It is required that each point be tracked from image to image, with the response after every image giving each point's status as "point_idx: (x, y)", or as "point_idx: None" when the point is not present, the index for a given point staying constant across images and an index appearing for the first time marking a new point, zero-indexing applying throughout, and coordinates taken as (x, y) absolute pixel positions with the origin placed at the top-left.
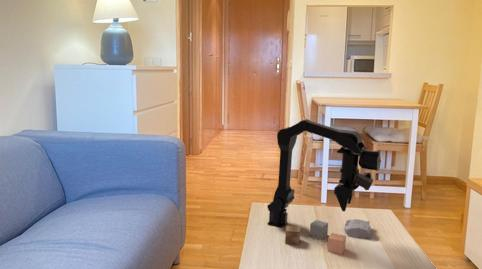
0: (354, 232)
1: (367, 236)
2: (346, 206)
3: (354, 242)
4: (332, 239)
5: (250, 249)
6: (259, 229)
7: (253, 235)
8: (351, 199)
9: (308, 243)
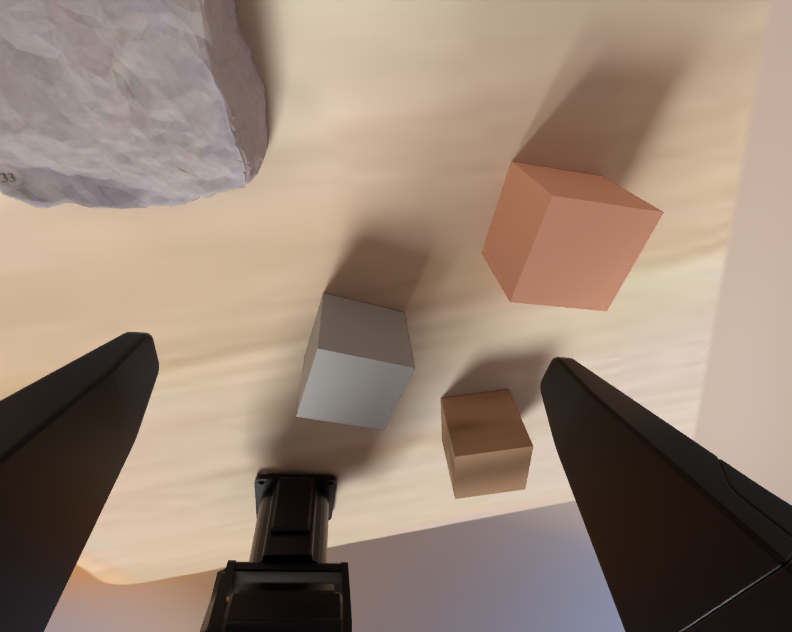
0: (244, 105)
1: None
2: (619, 406)
3: (375, 91)
4: (618, 283)
5: None
6: (392, 517)
7: (455, 515)
8: (60, 370)
9: (481, 359)
